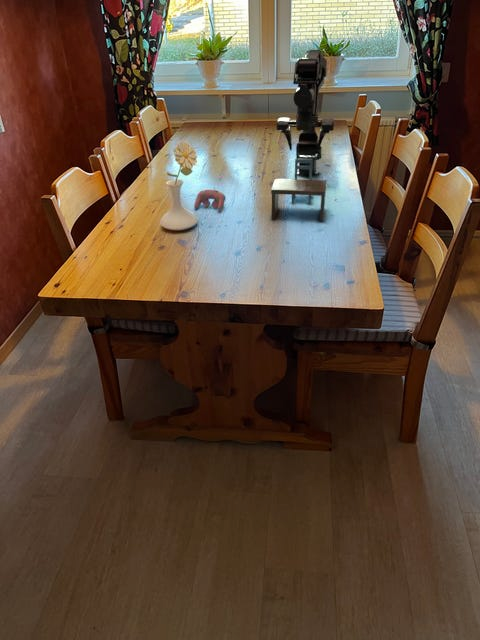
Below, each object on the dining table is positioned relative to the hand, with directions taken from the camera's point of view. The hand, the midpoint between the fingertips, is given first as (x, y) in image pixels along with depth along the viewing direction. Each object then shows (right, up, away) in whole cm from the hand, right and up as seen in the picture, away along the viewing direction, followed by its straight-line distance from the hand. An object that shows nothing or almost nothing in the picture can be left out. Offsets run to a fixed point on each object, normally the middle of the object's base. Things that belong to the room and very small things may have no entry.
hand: (304, 150), depth 169 cm
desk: (-4, -25, -13) cm, 28 cm away
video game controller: (-32, -21, -6) cm, 39 cm away
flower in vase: (-40, -29, -16) cm, 52 cm away
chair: (-1, -18, -3) cm, 18 cm away
